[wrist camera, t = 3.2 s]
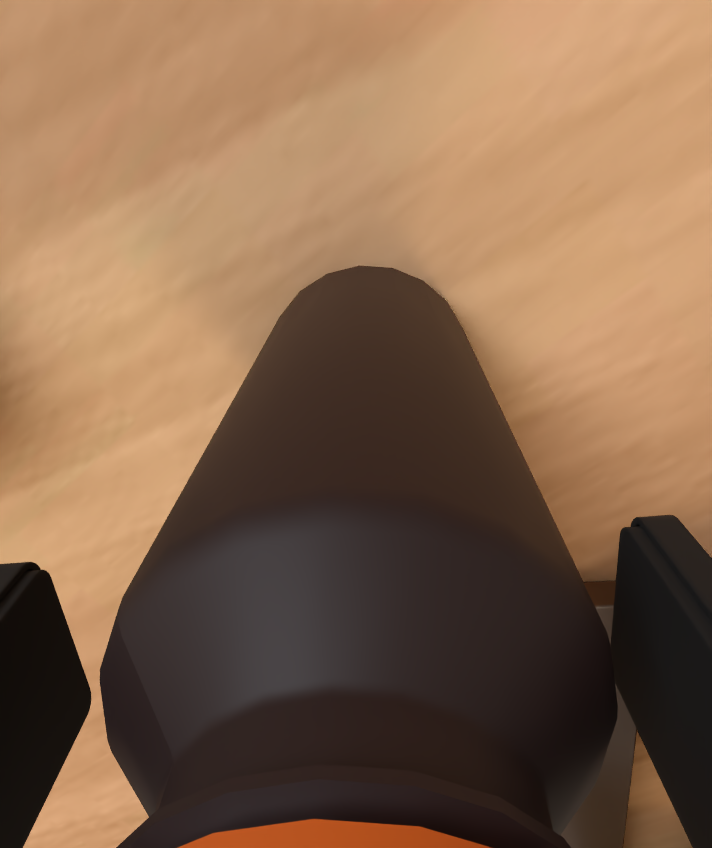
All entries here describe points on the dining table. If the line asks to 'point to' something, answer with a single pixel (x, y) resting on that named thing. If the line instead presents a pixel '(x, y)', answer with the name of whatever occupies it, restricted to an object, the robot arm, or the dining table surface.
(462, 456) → the vinegar
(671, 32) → the dining table surface
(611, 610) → the serving board
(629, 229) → the dining table surface
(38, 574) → the robot arm
